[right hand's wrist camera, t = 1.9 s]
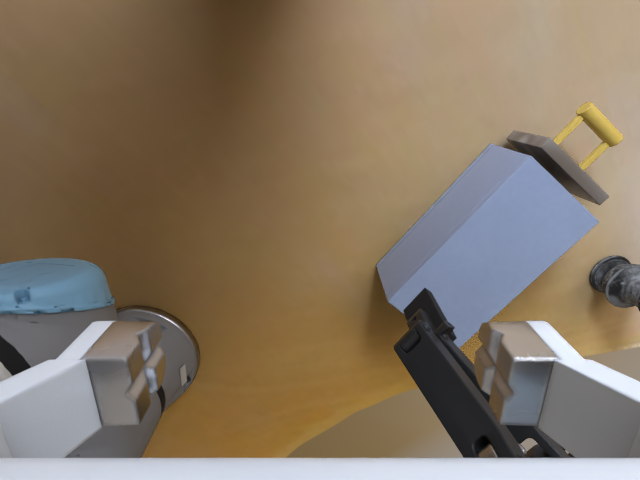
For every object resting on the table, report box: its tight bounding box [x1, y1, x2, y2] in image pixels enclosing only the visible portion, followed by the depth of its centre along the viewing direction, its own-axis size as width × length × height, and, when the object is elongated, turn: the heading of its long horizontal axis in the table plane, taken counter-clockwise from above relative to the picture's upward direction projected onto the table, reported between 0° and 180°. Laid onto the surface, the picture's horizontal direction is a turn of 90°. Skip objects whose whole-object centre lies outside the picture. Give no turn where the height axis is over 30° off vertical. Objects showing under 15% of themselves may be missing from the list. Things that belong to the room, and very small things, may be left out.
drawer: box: [507, 102, 623, 205], centre depth 44 cm, size 24×9×8 cm, turn 141°
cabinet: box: [376, 144, 599, 348], centre depth 46 cm, size 20×10×10 cm, turn 141°
